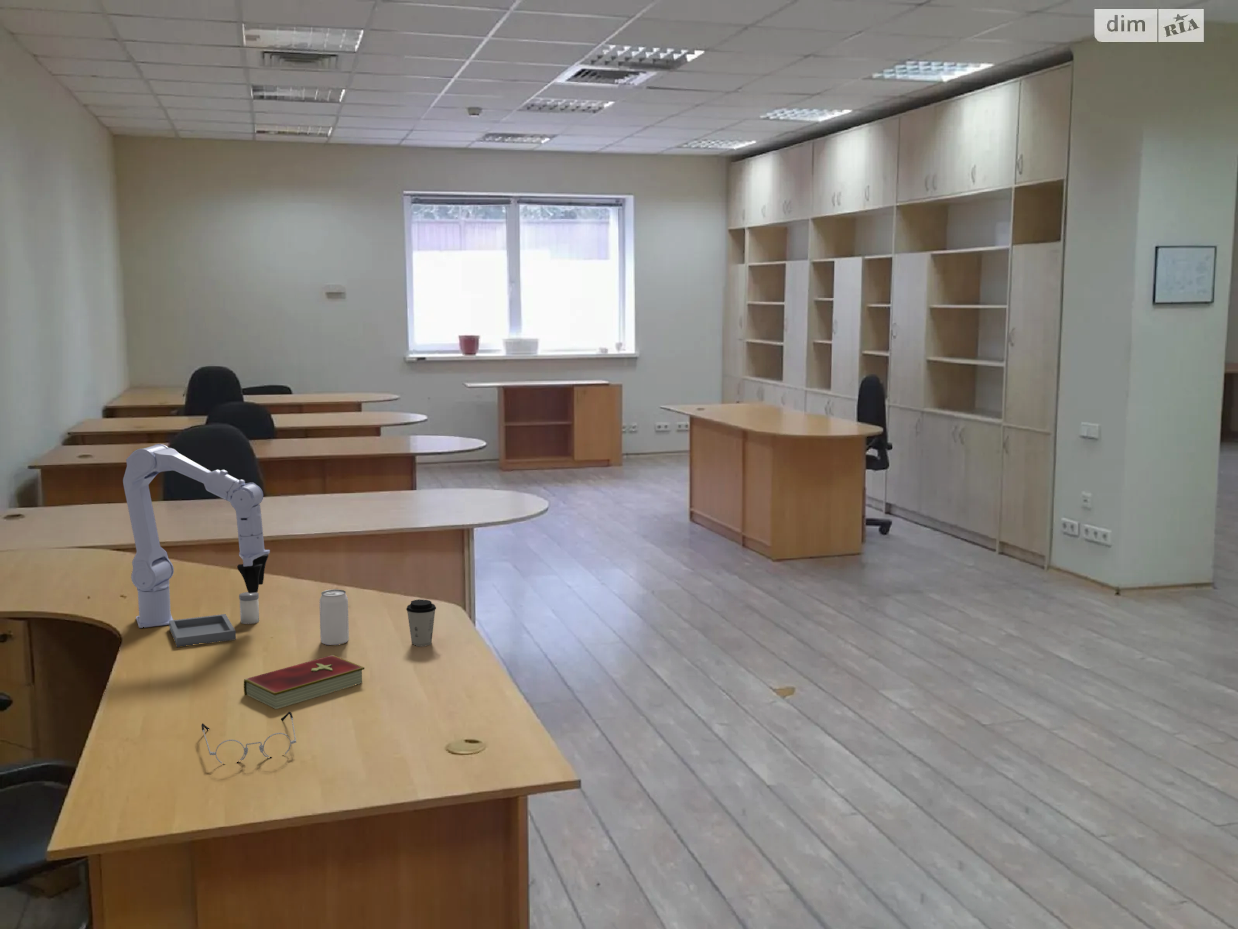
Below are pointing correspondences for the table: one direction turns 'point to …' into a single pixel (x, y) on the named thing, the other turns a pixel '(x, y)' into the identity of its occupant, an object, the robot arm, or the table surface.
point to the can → (334, 617)
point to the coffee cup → (421, 621)
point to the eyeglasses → (251, 743)
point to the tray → (202, 630)
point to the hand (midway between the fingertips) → (255, 588)
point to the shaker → (249, 608)
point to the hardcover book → (303, 681)
